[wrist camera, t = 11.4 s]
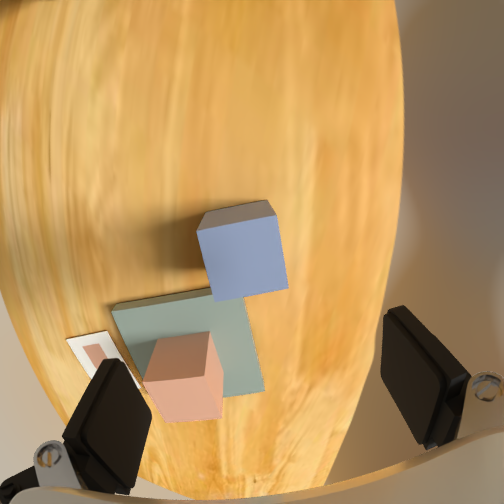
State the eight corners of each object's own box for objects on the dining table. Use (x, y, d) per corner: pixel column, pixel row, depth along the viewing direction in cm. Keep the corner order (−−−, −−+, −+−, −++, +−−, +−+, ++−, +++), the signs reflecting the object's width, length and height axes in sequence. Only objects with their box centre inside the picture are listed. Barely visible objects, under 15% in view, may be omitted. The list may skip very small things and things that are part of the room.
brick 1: (157, 338, 26) (142, 382, 20) (209, 331, 26) (204, 376, 20) (175, 378, 27) (165, 422, 22) (223, 372, 27) (222, 418, 22)
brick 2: (205, 212, 24) (196, 231, 18) (267, 199, 24) (276, 215, 18) (219, 268, 26) (214, 302, 20) (277, 257, 26) (288, 288, 20)
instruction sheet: (66, 339, 27) (65, 339, 27) (107, 330, 27) (106, 331, 27) (100, 391, 30) (100, 392, 30) (141, 387, 30) (140, 388, 30)
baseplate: (116, 303, 26) (111, 311, 25) (240, 282, 26) (240, 289, 25) (158, 394, 30) (156, 403, 29) (263, 381, 30) (264, 391, 28)
